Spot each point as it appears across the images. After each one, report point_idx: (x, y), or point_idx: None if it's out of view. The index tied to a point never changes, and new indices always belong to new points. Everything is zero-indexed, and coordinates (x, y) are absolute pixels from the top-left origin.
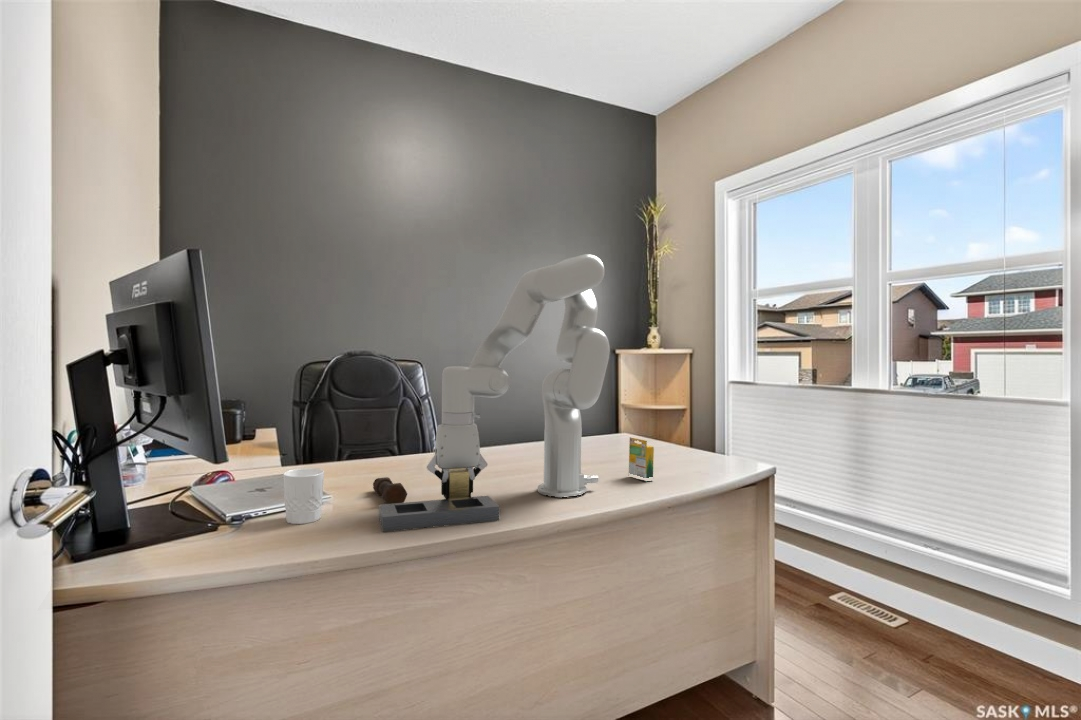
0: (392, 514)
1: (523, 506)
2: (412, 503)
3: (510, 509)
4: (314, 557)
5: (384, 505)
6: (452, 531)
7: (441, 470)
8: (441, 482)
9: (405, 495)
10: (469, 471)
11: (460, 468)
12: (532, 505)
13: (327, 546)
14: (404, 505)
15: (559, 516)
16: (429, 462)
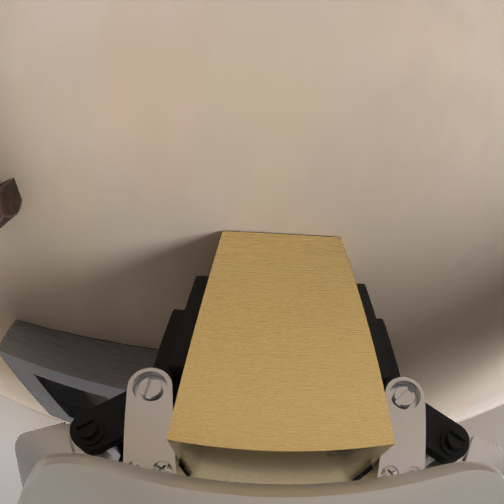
0: (61, 415)
1: (476, 356)
2: (74, 386)
3: (428, 373)
4: (25, 403)
5: (11, 361)
6: None
7: (125, 440)
8: (154, 364)
9: (4, 222)
10: (355, 479)
11: (332, 458)
12: (497, 351)
13: (17, 387)
14: (56, 379)
15: (462, 412)
16: (23, 481)
